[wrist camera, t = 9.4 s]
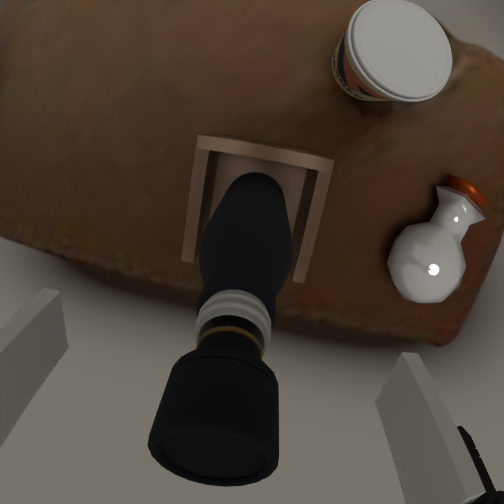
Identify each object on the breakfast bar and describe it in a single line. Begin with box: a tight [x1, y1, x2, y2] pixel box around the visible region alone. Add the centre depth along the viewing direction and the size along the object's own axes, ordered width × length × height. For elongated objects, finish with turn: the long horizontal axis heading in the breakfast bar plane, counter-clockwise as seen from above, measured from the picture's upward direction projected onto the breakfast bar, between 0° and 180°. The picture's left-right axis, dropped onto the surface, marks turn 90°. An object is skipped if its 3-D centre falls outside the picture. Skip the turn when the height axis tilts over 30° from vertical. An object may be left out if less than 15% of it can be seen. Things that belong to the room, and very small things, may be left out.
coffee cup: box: [331, 0, 452, 102], centre depth 24 cm, size 9×9×12 cm
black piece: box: [148, 172, 293, 487], centre depth 22 cm, size 6×6×30 cm
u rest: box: [182, 134, 335, 283], centre depth 32 cm, size 12×12×8 cm
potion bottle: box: [387, 174, 489, 304], centre depth 32 cm, size 9×10×15 cm
